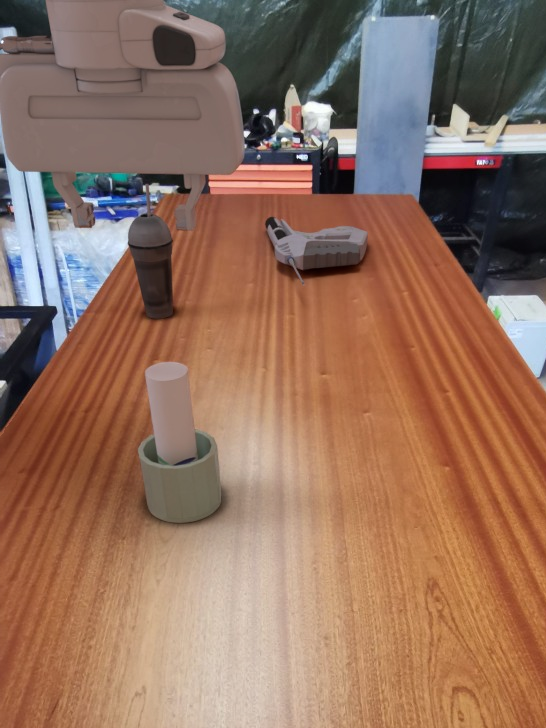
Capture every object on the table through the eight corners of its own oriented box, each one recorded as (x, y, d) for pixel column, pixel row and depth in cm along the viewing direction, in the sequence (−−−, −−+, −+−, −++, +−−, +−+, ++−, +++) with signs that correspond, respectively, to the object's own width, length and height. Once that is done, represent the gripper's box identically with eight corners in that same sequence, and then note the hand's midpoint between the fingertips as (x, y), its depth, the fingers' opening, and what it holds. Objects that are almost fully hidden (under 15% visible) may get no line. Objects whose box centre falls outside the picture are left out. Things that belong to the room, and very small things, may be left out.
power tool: (351, 234, 162) (261, 237, 160) (353, 208, 159) (261, 210, 157) (405, 296, 128) (291, 301, 126) (408, 264, 124) (291, 269, 122)
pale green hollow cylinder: (138, 520, 81) (128, 466, 77) (158, 479, 88) (149, 426, 83) (213, 525, 80) (207, 470, 76) (227, 483, 87) (223, 429, 82)
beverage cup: (164, 302, 130) (148, 174, 117) (189, 313, 126) (175, 182, 113) (130, 313, 126) (109, 183, 113) (154, 325, 122) (136, 191, 109)
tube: (170, 484, 86) (152, 360, 75) (206, 487, 85) (193, 363, 75) (158, 505, 82) (138, 379, 72) (195, 509, 82) (180, 382, 72)
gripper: (-35, 40, 56) (12, 235, 65) (229, 39, 54) (239, 241, 63) (-1, 31, 61) (38, 215, 70) (244, 30, 58) (251, 220, 68)
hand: (135, 227), depth 67 cm, fingers open, 8 cm apart
